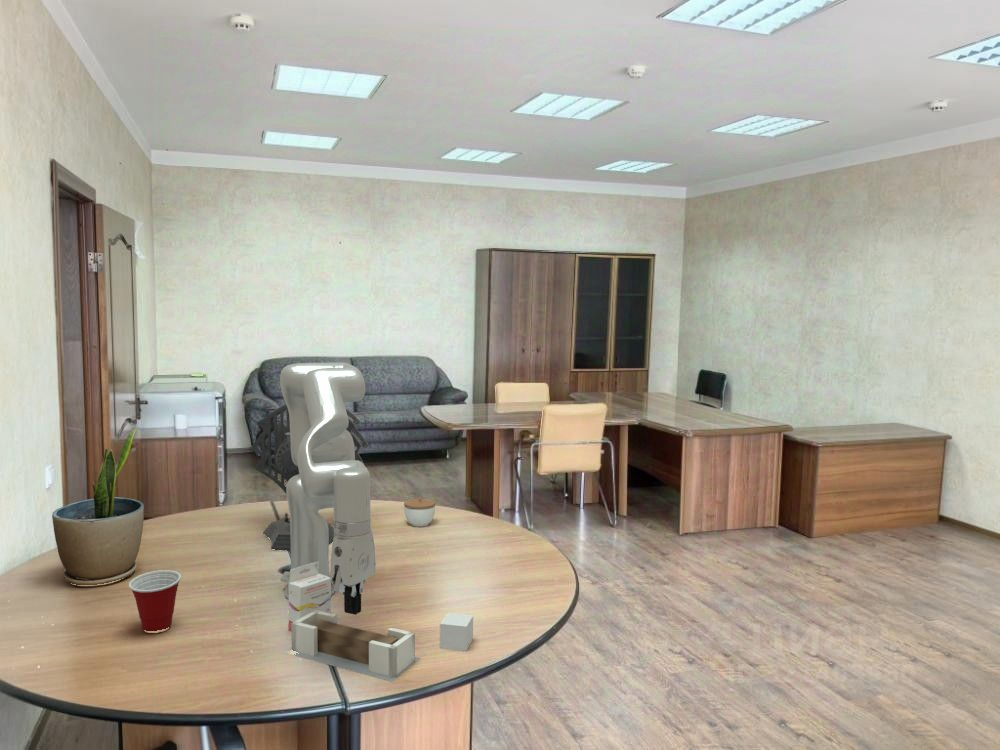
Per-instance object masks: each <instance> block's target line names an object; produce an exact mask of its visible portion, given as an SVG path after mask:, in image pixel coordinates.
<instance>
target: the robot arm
mask: <svg viewBox="0 0 1000 750" xmlns="http://www.w3.org/2000/svg"><path fill="white" fill-rule="evenodd" d="M279 382H280V383H279V384H280V385H279V386H280V390H281V394H282V398H283V400H284V402H285V405H287V408H288V411H289V419H290V442H291V456H292V460H293V463H294V464H295V465H296V466H298V469H299V474H297V475H295V476H293V477H292V478H290V479H289V481H288V483H287V482H286V483H287V484H286V485H285V487H286V493H287V494H286V493H285V494H286V499H287V503H288V504H287V505H288V512H289V513H288V514H289V518H290V534H291V551H290V570H291V569H294V568H297V567H300V566H304V565H307V564H311V563H314V562H319V574H322V575H325V576H327V577H330V578H331V596H333V595H334V594H335V593H342V595H343V596H344V597H343V600H344V601H343V602H344V603H343V604H344V605H343V606H344V607H343V611H344V613H346V614H350V615H355V616H356V615H358V614H360V613H361V612H362V593H363V591H364V584H365V582H366V581H367V580H368V579H369V578H371V577H372V576H373V575H375V573H376V568H377V567H376V565H377V563H376V549H375V541H374V540H375V539H374V534H373V531H372V529H371V474H370V471H369V469H368V467H366V466H365V463H364V462H363V463H364V464H363V463H362V462H360V461H357V459H356V457H355V450H356V449H355V444H354V442H353V438H352V436H351V434H350V432H349V431H347V430H346V428H348V424H349V420H348V418H349V417H348V415H347V412H346V409H347V408H346V405H345V403H357V402H360V401H361V400H363V398H364V397H365V393H366V382H365V378H364V376H363V373H362V372H361V370H360V369H359V368H358V367H356V366H354V365H352V364H350V363H347V362H343V361H341V362H337V361H336V362H334V361H333V362H297V363H292V364H288V365H286V366H284V367H283V369H282V370H281V372H280V375H279ZM355 459H356V460H355ZM324 509H333V528H334V538H333V543H332V545H331V555H330V552H329V551H330V547H329V545H330V544H329V529H328V524H327V523H328V521H327V520H326V519H325V518H324V517H323V515H321V514H320V513H319V511H320V510H324ZM330 558H331V559H330ZM329 559H330V561H329ZM329 564H330V565H329ZM309 570H310V569H304V570H303V571H300V574H301V573H304V572H308V571H309ZM289 578H290V571H288V570H286V571H284V572H283V574H282V576H281V577H280V581H281V582H283V583H287V587H286V588H285V590H284V595H285V597H286V598H287V599H288V600H289Z"/></svg>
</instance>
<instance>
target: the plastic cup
mask: <svg viewBox="0 0 1000 750" xmlns="http://www.w3.org/2000/svg"><path fill="white" fill-rule="evenodd" d="M181 579H182V576H181V573H179V572H178V571H176V570H171V569H164V570H163V569H158V570H153V571H148V572H145V573H143V574H139V575H137V576H135V577H134V578H132V579H131V580H130V581H129V582H128V587H129V589H131V591H132V593H133V597H134V599H135V602H136V603H135V604H136V607H137V612H138V615H139V616H138V617H139V619H140V623H141V628H142V630H146V631H157V630H162V629H166V628H168V627H170V626H172V622H173V615H174V612H175V605H176V597H177V591H178V587H179V582H180V580H181ZM170 628H171V627H170Z"/></svg>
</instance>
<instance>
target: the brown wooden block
mask: <svg viewBox="0 0 1000 750" xmlns="http://www.w3.org/2000/svg"><path fill="white" fill-rule="evenodd" d="M312 626H316V627H317V643H318V652H322V653H325V654H329V655H333V656H337V657H341V658H345V659H348V660H352V661H356V662H360V663H364V664H368V665H369V642H370V641H372V640H374V641H378V642H382V643H386V644H390V645H393V644H394V643H396V642H397V641H398V638H395V637H390V636H388V635H386V634H382V633H377V632H372V631H368V630H365V629H360V628H356V627H354V626H353V627H352V626H347V625H345V624H339V623H337V624H336V623H332V622H327V621H323V620H320V621H318V622H316V623H315V624H313V625H312Z"/></svg>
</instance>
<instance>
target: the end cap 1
mask: <svg viewBox="0 0 1000 750" xmlns="http://www.w3.org/2000/svg"><path fill="white" fill-rule="evenodd" d="M320 620H323V621H327V622H332V623H336V624H338V614H334V613H326V612H322V611H318V610H315V611H313V612H311V613H309V614H307V615H306V616H304V617H302V618H300V619H299V620H297V621H295V622H293V623H291V631H290V632H291V639H290V641H291V649H292V650H293V651H296V652H299V653H303V654H307V655H311V656H315V655H317V654H318V643H317V627H316V626H312V625H313V624H315V623H316V622H318V621H320Z"/></svg>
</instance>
